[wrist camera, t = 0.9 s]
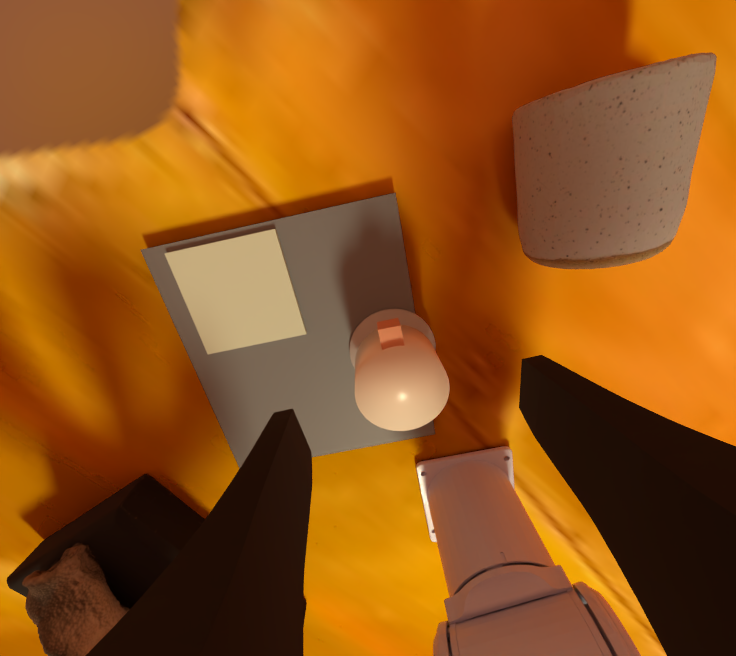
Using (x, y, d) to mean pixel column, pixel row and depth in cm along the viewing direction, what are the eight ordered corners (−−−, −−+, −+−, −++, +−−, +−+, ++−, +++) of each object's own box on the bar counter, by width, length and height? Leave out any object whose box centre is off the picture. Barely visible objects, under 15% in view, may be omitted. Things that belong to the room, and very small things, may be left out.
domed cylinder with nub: (440, 388, 22) (454, 421, 19) (364, 402, 22) (365, 438, 19) (426, 300, 20) (440, 320, 17) (342, 317, 20) (339, 340, 17)
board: (445, 425, 27) (454, 449, 24) (243, 463, 28) (231, 490, 25) (409, 189, 20) (417, 187, 18) (148, 248, 21) (118, 254, 18)
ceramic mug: (500, 260, 22) (572, 288, 15) (488, 121, 19) (570, 73, 12) (660, 221, 22) (814, 230, 14) (672, 73, 19) (873, -8, 11)
